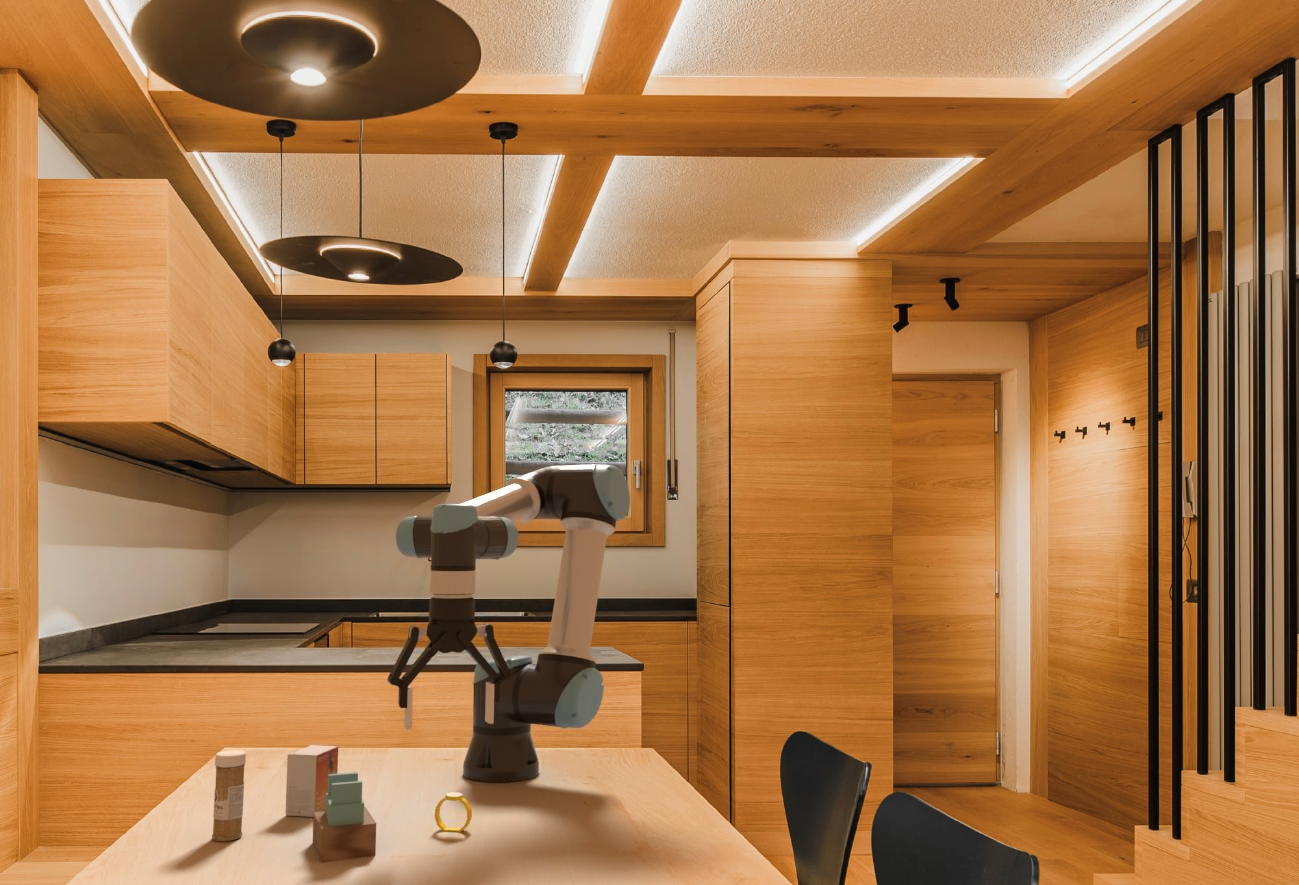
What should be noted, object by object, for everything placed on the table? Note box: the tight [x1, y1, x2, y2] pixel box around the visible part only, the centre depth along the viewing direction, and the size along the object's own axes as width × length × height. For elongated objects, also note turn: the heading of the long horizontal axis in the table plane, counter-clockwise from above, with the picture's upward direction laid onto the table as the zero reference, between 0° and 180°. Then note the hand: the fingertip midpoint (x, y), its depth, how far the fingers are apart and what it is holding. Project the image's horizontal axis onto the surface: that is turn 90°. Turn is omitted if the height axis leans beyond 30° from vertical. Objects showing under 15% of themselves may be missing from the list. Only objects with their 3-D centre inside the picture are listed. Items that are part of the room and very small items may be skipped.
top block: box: [325, 771, 365, 827], centre depth 158 cm, size 5×8×6 cm, turn 22°
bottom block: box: [312, 806, 377, 863], centre depth 158 cm, size 8×10×5 cm
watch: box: [434, 791, 473, 833], centre depth 168 cm, size 6×3×6 cm, turn 80°
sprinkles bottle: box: [211, 749, 247, 842], centre depth 163 cm, size 5×5×14 cm
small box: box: [285, 744, 339, 818], centre depth 179 cm, size 8×6×10 cm
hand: (449, 725), depth 169 cm, fingers open, 13 cm apart
